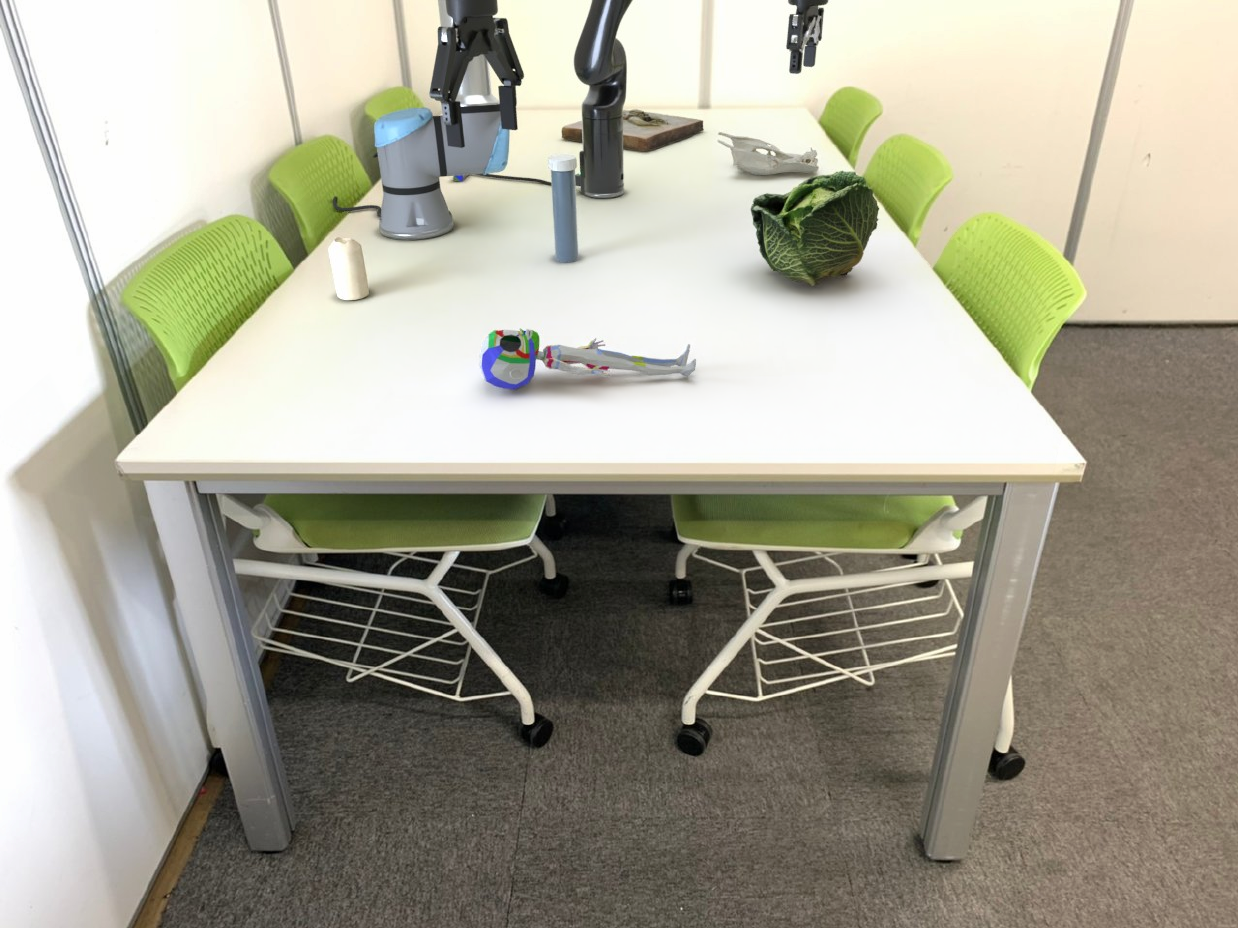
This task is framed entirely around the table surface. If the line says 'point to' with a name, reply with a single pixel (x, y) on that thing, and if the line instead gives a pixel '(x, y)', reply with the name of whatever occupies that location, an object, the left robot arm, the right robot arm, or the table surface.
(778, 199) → the vegetable
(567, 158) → the lid
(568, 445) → the table surface
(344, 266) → the candle
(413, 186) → the left robot arm
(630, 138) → the plaque
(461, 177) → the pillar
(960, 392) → the table surface
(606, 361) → the toy
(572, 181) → the blue slim bottle
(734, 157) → the anatomical model
